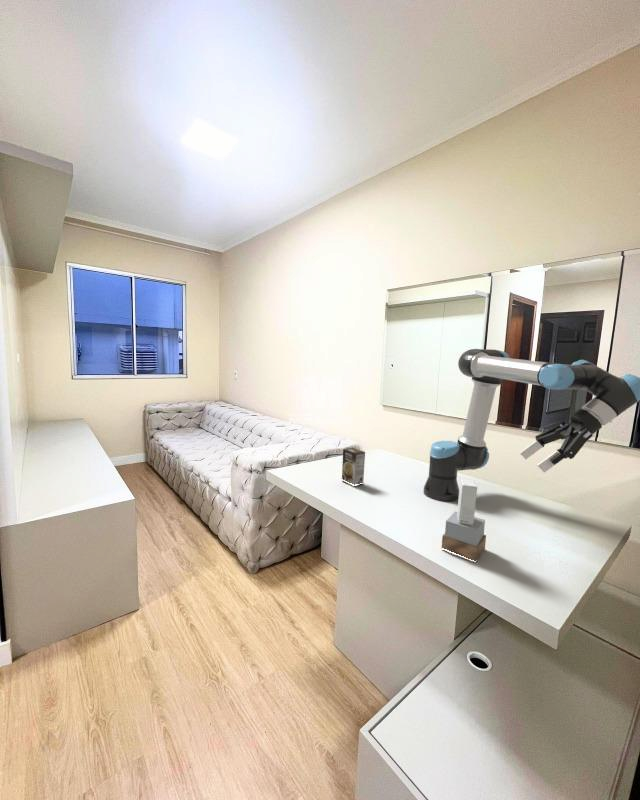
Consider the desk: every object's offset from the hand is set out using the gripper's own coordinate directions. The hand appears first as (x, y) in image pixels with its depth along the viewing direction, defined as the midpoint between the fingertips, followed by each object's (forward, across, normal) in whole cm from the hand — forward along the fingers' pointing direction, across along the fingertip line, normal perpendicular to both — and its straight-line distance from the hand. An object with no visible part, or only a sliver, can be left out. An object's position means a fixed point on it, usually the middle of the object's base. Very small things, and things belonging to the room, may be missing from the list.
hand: (530, 462), depth 106 cm
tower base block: (+33, -7, -6) cm, 35 cm away
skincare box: (+27, -7, +1) cm, 28 cm away
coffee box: (+62, +43, +21) cm, 78 cm away
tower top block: (+30, -7, -3) cm, 31 cm away
